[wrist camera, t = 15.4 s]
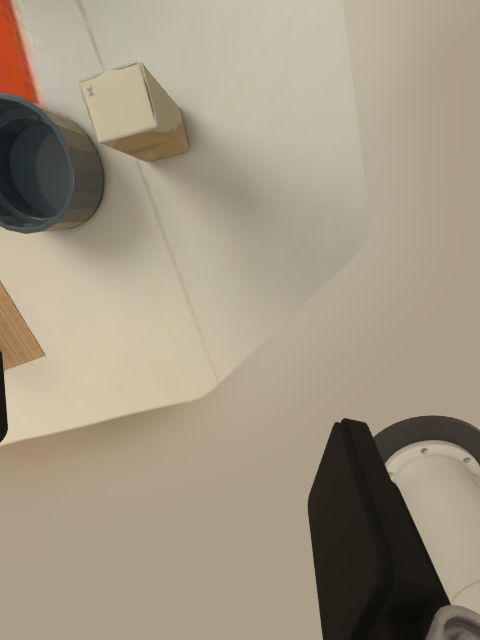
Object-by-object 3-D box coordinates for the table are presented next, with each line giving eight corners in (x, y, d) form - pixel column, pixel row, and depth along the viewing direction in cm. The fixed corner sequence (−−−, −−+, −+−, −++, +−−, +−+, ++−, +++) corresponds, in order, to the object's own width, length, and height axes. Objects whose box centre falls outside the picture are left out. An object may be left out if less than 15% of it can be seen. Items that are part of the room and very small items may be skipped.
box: (146, 163, 35) (93, 144, 25) (133, 118, 34) (72, 79, 23) (192, 150, 34) (158, 126, 24) (181, 104, 33) (140, 57, 23)
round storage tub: (107, 123, 34) (74, 106, 29) (102, 238, 38) (73, 243, 33) (-3, 101, 34) (-56, 81, 29) (5, 218, 39) (-41, 220, 33)
